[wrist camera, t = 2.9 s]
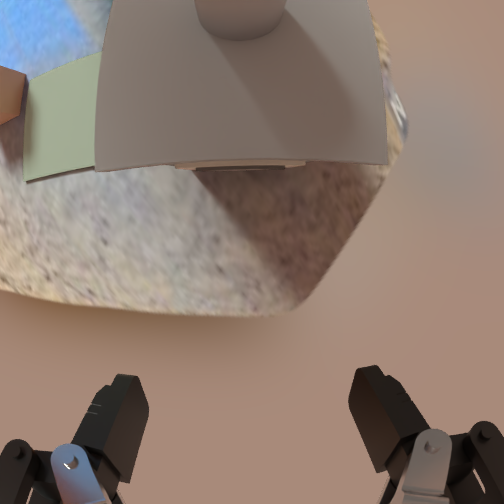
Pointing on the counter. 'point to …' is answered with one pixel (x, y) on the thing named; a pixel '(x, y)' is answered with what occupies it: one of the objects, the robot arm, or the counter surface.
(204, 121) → the box
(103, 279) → the counter surface
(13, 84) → the block
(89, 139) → the pad
